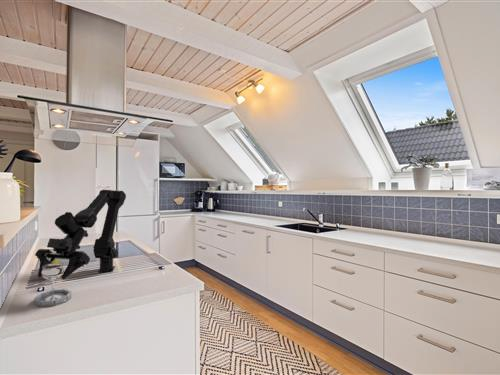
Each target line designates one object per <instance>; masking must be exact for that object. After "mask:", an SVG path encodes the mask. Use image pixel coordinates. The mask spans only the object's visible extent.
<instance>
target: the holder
mask: <svg viewBox="0 0 500 375" xmlns="http://www.w3.org/2000/svg"><path fill="white" fill-rule="evenodd" d="M72 294H73V292H72V291H71V290H69V289H67V288H60V289H59V288H58V289H57V288H56V289H54V295H61V298H59V299H56V300H49V301H47V300H45V298H47V297H49V296H52V295H53V291H52V289H50V290H47V291H45V292H42V293H38V294H37V295H36V296H35V298H34V299H33V303H34V305H35V306H36V307H39V308H49V307H55V306H58V305H63V304H65V303H67V302H68V301H69V300H71V298H72Z"/></svg>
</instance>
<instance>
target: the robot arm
mask: <svg viewBox="0 0 500 375" xmlns="http://www.w3.org/2000/svg"><path fill="white" fill-rule="evenodd" d="M126 199H127V195H126V193H125V191H124V190H113V189H101V190H99V193H98V195H97V196H96V197H95V198H94V199H93V200H92V201H91V203H90V204H89V205H88V206H87V207H86V208H84V209H82V210H80V211H78V212H77V213H76V214H75V215H74V214H73V213H72V212H70V211H66V212H65V213H64V214H61V215H59V216H58V217H57V218H56V219H55V220H54V225H55V226H56V227H57V228H58V229H59V230H60V231H61V232H62V233H63V234H65V237H64V238H49V240H48V243H47V245H46V247H47V248H46V249H45V248H39V249H37V250H36V253H35V254H34V256H36V258H37V259H38V260H39V269H38V273H37V277H38V278H42V277H43V276H42V270H43V269H42V266H43V265H46V264H50V263H52V261H54V260H55V259H56V260H59V259H60V260H68V264H67V266H66V267H65V268H64V272H63V274H62V275H61V280H65V279H67V277H69V276H70V275H72V274H73V273H74V272H75V271H77V270H78V269H80V268H82V267H84V266H85V265H88V264H89V263H90V256H89V255H88V253H86V252H85V251H82V250H80V249H81V246H80V244H81V242H82V240H83V238H88V237H89V234H88V230H85V229H84V228H86V229H89V228H90V229H91V228H92V227H94V226H95V224H96V222H97V220H98V214H99V213H100V212H101V211H102V209H103V208H104V207H105V206H106V205H107V211H106V214H105V220H104V223H103V228H102V231H101V234H100V235H101V236H100V237H99V238H96V239H95V240H94V245H93V255H94V257H95V259H99V268H98V270H97V273H109V272H108V271H112V272H114V270H115V268H116V266H114V259H117V257H118V255H119V254H118V253H119V251H118V250H117V249H116V248H115V245H116V243H115V241H114V238H113V237H114V232H115V229H116V222H117V219H118V214H119V209H120V208H121V207H122V206H123V205H124V203H125V200H126ZM49 248H51V249H52V250H53V252H52V251H51V250H50V249H49Z"/></svg>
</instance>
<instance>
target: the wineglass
mask: <svg viewBox="0 0 500 375" xmlns="http://www.w3.org/2000/svg"><path fill="white" fill-rule="evenodd" d="M42 269H43V270H42V276H41V277H42V278H43V279H45V280H48V281H50V282H51V290H52V291H53V295H52V296H49V297H47V298H45V300H47V301H49V300H56V299H59V298H61V295H54V290H55V281H56V280H57V279H59V278H60V277H62V275H63V273H64V271H65V268H64V263H63V262H61V263H50V264H46V265H43V266H42Z"/></svg>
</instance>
